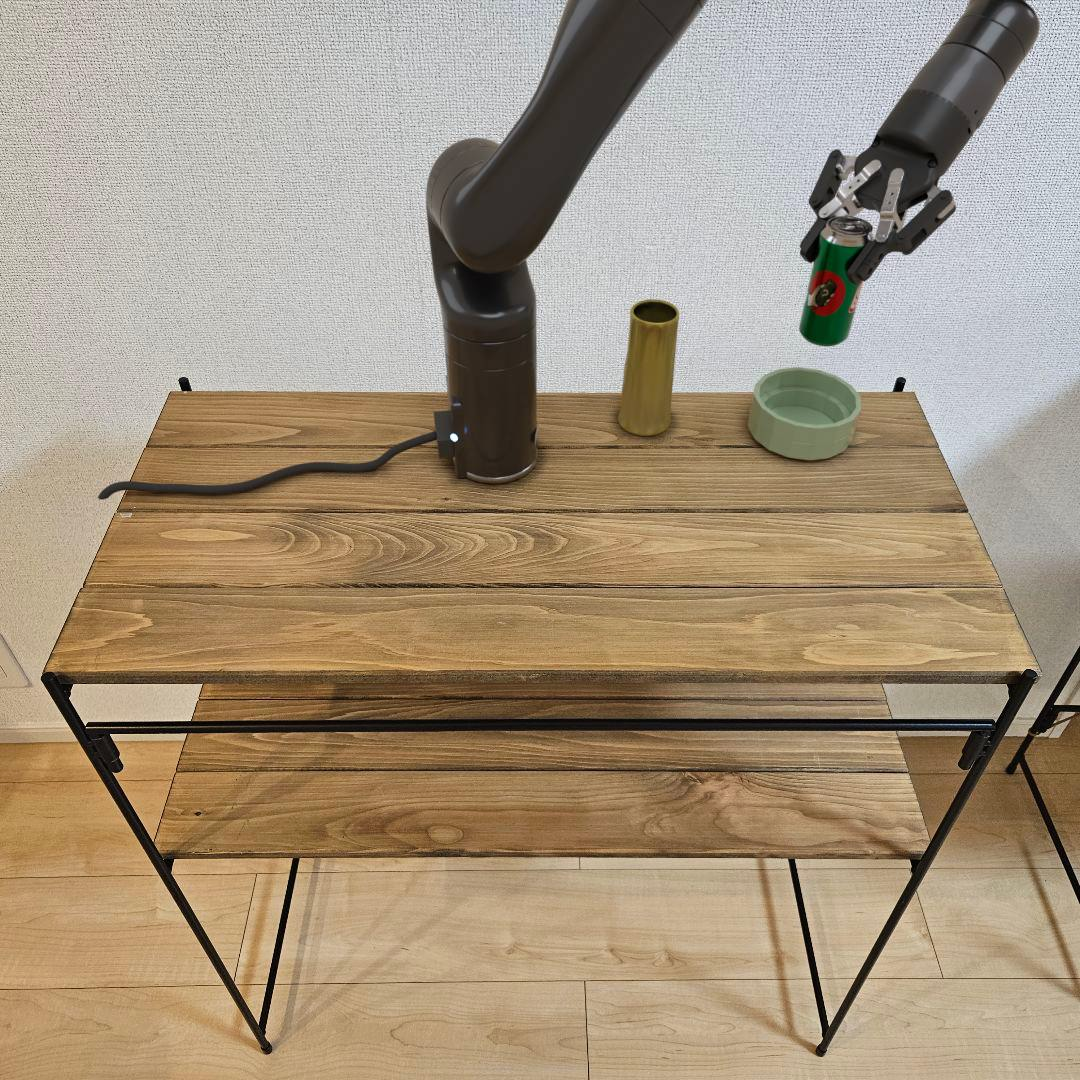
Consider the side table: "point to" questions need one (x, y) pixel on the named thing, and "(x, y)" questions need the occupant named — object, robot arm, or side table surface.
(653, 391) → the vase
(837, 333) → the soda can
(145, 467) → the side table surface
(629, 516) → the side table surface
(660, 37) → the robot arm
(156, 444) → the side table surface
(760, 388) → the bowl
